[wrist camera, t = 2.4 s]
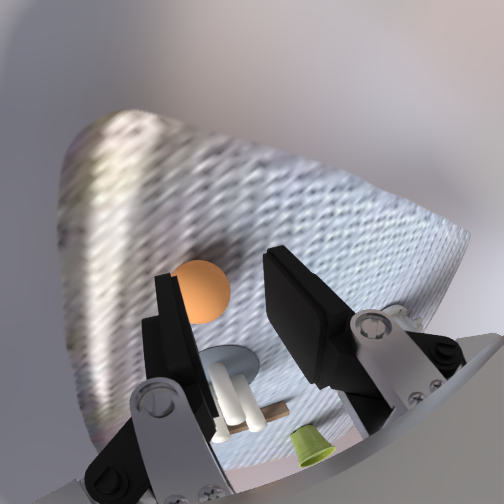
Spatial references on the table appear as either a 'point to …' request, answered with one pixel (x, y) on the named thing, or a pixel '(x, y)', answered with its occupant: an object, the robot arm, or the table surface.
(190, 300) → the ball
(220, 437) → the pin
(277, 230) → the table surface
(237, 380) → the pin
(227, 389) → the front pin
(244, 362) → the pin spot mat
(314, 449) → the plant pot
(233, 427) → the bar
